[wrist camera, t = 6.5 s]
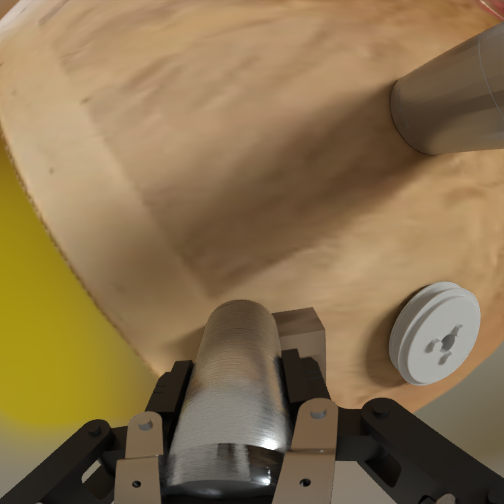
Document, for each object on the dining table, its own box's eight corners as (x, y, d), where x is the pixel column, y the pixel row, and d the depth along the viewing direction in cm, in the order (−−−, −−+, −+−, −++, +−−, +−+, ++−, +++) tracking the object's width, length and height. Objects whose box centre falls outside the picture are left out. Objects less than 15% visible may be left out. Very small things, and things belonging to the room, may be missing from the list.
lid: (418, 383, 32) (434, 404, 27) (365, 343, 30) (382, 367, 25) (476, 312, 30) (498, 326, 25) (435, 257, 28) (461, 269, 24)
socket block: (312, 307, 29) (325, 329, 24) (316, 417, 32) (324, 444, 27) (213, 320, 29) (208, 345, 24) (238, 428, 32) (237, 456, 27)
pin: (272, 294, 16) (306, 471, 5) (280, 356, 16) (308, 528, 6) (199, 304, 16) (132, 474, 5) (213, 364, 16) (183, 532, 6)
